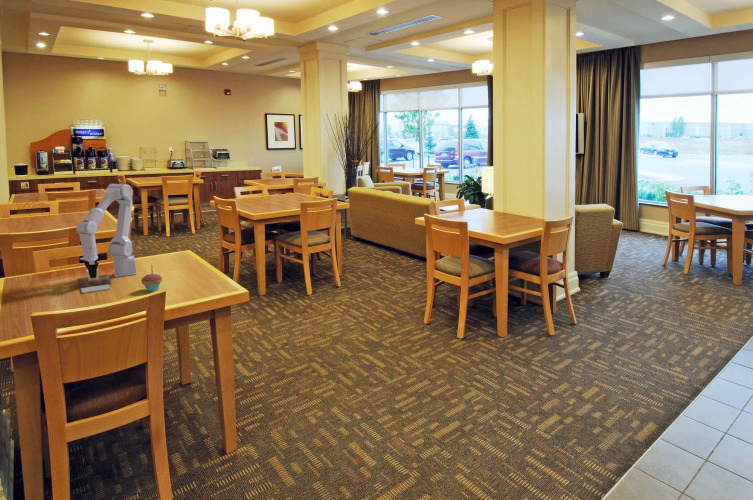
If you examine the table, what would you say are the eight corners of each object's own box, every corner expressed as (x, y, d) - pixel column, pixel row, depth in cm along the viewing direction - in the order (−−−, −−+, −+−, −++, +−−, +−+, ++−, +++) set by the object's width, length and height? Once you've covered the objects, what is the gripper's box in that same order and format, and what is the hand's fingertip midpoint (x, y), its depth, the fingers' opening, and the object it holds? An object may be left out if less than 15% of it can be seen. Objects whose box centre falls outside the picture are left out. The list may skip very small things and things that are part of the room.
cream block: (99, 282, 239) (97, 267, 237) (99, 284, 235) (97, 270, 234) (88, 283, 237) (86, 269, 235) (89, 286, 233) (87, 271, 231)
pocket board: (108, 279, 243) (108, 274, 242) (110, 284, 236) (110, 279, 235) (77, 284, 236) (76, 278, 236) (78, 289, 229) (77, 283, 228)
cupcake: (146, 287, 232) (143, 261, 229) (165, 286, 232) (163, 261, 230) (139, 293, 223) (136, 266, 220) (159, 292, 224) (157, 266, 221)
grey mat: (108, 285, 234) (108, 284, 234) (110, 289, 228) (110, 288, 228) (81, 289, 228) (81, 288, 228) (82, 293, 222) (82, 292, 222)
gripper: (78, 245, 236) (82, 274, 239) (79, 251, 224) (84, 281, 227) (95, 243, 239) (99, 271, 243) (98, 249, 228) (102, 279, 231)
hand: (93, 276), depth 235 cm, fingers closed on cream block, 4 cm apart
